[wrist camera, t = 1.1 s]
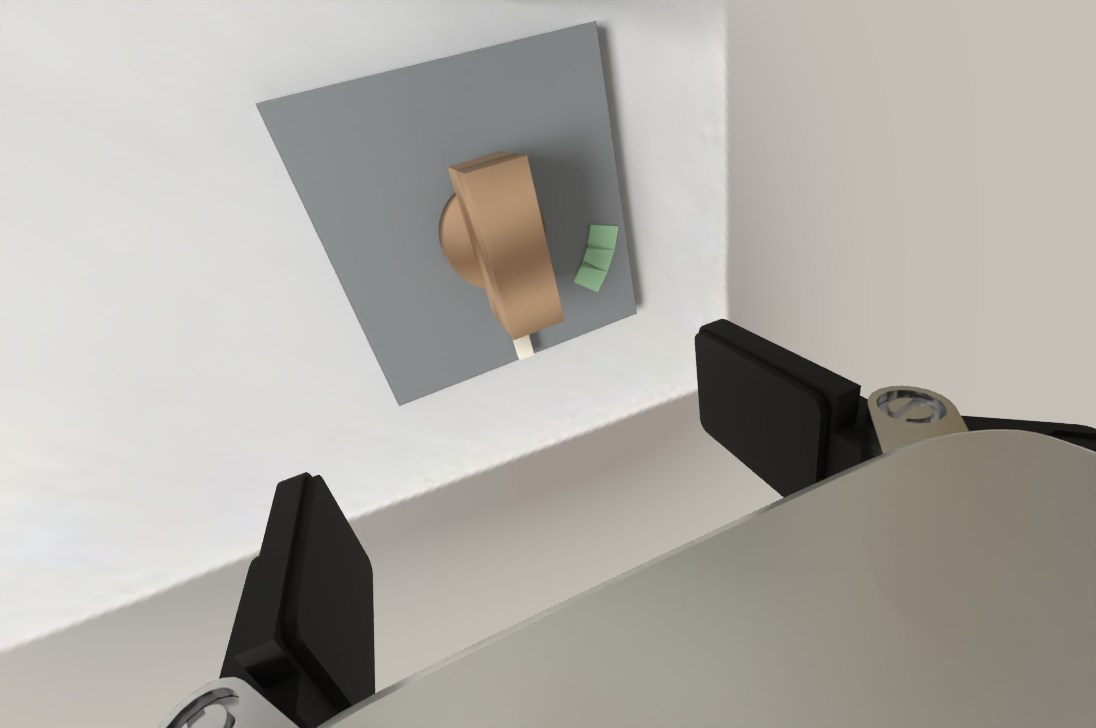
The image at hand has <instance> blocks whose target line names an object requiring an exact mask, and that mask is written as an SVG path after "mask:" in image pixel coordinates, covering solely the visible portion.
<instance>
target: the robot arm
mask: <svg viewBox="0 0 1096 728" xmlns="http://www.w3.org/2000/svg"><path fill="white" fill-rule="evenodd" d="M695 351H696V366H697V381H698V395H699V409H700V421H701V424H702V426H703V428H704V430H705V431H706V432H707V433H708V434H710V436H712V437H713V438H714V439H715V440H716V441H718V442H719V443H720V444H721V445H722V446H724V447H725V448H726V449H727V450H728V451H730V452H731V453H732V454H733V455H734V456H735V457H737V458H738V459H739V460H740V461H741V462H743V463H744V464H745V465H746V466H747V467H748V468H750V469H751V470H752V471H753V472H754V473H756V474H757V475H758V476H759V477H760V478H762V479H763V480H764V481H765V482H766V483H767V484H769V485H770V486H771V487H772V488H773V489H775V490H776V491H777V492H778V493H779V494H780V495H781V496H783V497H784V498H782V499H780V500H778V501H776V502H774V503H772V504H770V505H767V506H765V507H763V508H761V509H759V510H757V511H754V512H752V513H750V514H748V515H746V516H744V517H742V518H740V519H737V520H735V521H733V522H731V523H729V524H726V525H724V526H722V527H720V528H718V529H716V530H714V531H711V532H709V533H707V534H705V535H703V536H701V537H699V538H697V539H695V540H693V541H690V542H688V543H686V544H684V545H682V546H680V547H677V548H675V549H673V550H671V551H669V552H667V553H665V554H663V555H660V556H658V557H656V558H654V559H652V560H650V561H648V562H646V563H643V564H641V565H640V566H637V567H635V568H633V569H631V570H629V571H627V572H625V573H622V574H621V575H618V576H616V577H614V578H612V579H610V580H608V581H606V582H603V583H601V584H599V585H597V586H595V587H593V588H591V589H589V590H586V591H585V592H582V593H580V594H578V595H576V596H574V597H572V598H570V599H568V600H566V601H563V602H561V603H559V604H557V605H555V606H553V607H551V608H549V609H547V610H545V611H543V612H540V613H539V614H537V615H534V616H532V617H530V618H528V619H526V620H524V621H522V622H520V623H518V624H515V625H513V626H511V627H509V628H507V629H505V630H503V631H501V632H499V633H497V634H495V635H493V636H490V637H488V638H486V639H484V640H482V641H480V642H478V643H476V644H474V645H472V646H469V647H467V648H465V649H463V650H461V651H459V652H457V653H455V654H453V655H451V656H449V657H447V658H445V659H443V660H441V661H439V662H437V663H435V664H433V665H431V666H429V667H427V668H425V669H423V670H421V671H419V672H417V673H415V674H413V675H411V676H409V677H407V678H405V679H403V680H401V681H399V682H397V683H395V684H393V685H391V686H389V687H387V688H385V689H383V690H381V691H379V692H377V693H376V694H375V661H374V612H373V572H372V567H371V563H370V560H369V558H368V556H367V554H366V553H365V551H364V549H363V547H362V545H361V544H360V542H359V540H358V539H357V537H356V535H355V533H354V532H353V530H352V528H351V526H350V525H349V523H348V521H347V519H346V518H345V516H344V514H343V513H342V511H341V509H340V507H339V506H338V504H337V502H336V500H335V499H334V497H333V495H332V494H331V492H330V490H329V488H328V487H327V485H326V483H325V481H324V480H323V478H322V477H321V476H320V475H317V476H314V477H312V476H311V475H310V474H309V473H307V472H305V473H303V474H300V475H297V476H295V477H292V478H289V479H287V480H284V481H281V482H279V483H278V485H277V487H276V491H275V495H274V499H273V503H272V507H271V511H270V515H269V519H268V523H267V527H266V531H265V535H264V539H263V542H262V546H261V550H260V554H259V556H258V557H256V558H255V559H254V560H252V562H251V564H250V567H249V570H248V574H247V577H246V581H245V585H244V588H243V592H242V596H241V599H240V603H239V607H238V610H237V614H236V618H235V622H234V625H233V629H232V633H231V636H230V640H229V644H228V647H227V651H226V655H225V659H224V662H223V666H222V670H221V673H220V677H219V679H218V680H215V681H213V682H210V683H207V684H206V685H204V686H202V687H201V688H199V689H197V690H196V691H194V692H193V693H191V694H190V695H189V696H188V697H186V698H185V699H184V700H183V701H182V702H180V703H179V704H178V705H177V706H176V707H175V708H174V709H173V710H172V711H171V712H170V713H169V715H168V716H167V717H166V718H165V719H164V720H163V721H162V722H161V724H160V725H159V727H158V728H1096V429H1095V428H1092V427H1088V426H1083V425H1077V424H1064V423H1053V422H1040V421H1026V420H1012V419H999V418H986V417H985V418H984V417H972V416H961V415H960V414H959V412H958V410H957V408H956V407H955V405H954V404H953V403H952V402H951V401H950V400H948V399H947V398H945V397H944V396H942V395H940V394H938V393H935V392H933V391H930V390H927V389H922V388H917V387H909V386H890V387H886V388H881V389H879V390H877V391H875V392H873V393H872V394H871V395H870V396H869V398H868V399H866V398H864V397H862V396H860V389H861V386H860V385H858V384H856V383H854V382H852V381H850V380H848V379H846V378H844V377H842V376H840V375H838V374H836V373H834V372H832V371H830V370H828V369H826V368H824V367H822V366H820V365H818V364H816V363H813V362H811V361H809V360H807V359H805V358H803V357H801V356H799V355H797V354H795V353H793V352H791V351H789V350H787V349H785V348H783V347H781V346H779V345H777V344H775V343H772V342H771V341H768V340H766V339H764V338H762V337H760V336H758V335H756V334H754V333H752V332H750V331H748V330H746V329H744V328H742V327H740V326H738V325H736V324H734V323H732V322H730V321H728V320H725V319H720V320H717V321H714V322H711V323H709V324H706V325H703V326H702V327H701V328H700V330H699V333H698V334H696V336H695Z"/></svg>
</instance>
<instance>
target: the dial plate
mask: <svg viewBox="0 0 1096 728" xmlns="http://www.w3.org/2000/svg"><path fill="white" fill-rule="evenodd" d="M256 106H257V108H258V110H259V112H260V114H261V117H262V119H263V121H264V123H265V125H266V127H267V129H268V131H269V133H270V136H271V138H272V140H273V142H274V144H275V146H276V148H277V150H278V152H279V154H280V157H281V159H282V161H283V163H284V165H285V167H286V169H287V171H288V173H289V176H290V178H291V180H292V182H293V184H294V186H295V188H296V190H297V192H298V194H299V197H300V199H301V201H302V203H303V205H304V207H305V209H306V211H307V213H308V215H309V218H310V220H311V222H312V224H313V226H314V228H315V230H316V232H317V234H318V237H319V239H320V241H321V243H322V245H323V247H324V249H325V251H326V253H327V255H328V258H329V260H330V262H331V264H332V266H333V268H334V270H335V272H336V274H337V277H338V279H339V281H340V283H341V285H342V287H343V289H344V291H345V293H346V295H347V298H348V300H349V302H350V304H351V306H352V308H353V310H354V312H355V314H356V317H357V319H358V321H359V323H360V325H361V327H362V329H363V331H364V333H365V335H366V338H367V340H368V342H369V344H370V346H371V348H372V350H373V352H374V354H375V357H376V359H377V361H378V363H379V365H380V367H381V369H382V371H383V373H384V375H385V378H386V380H387V382H388V384H389V386H390V388H391V390H392V392H393V394H394V396H395V399H396V401H397V403H398V405H399V406H401V405H403V404H406V403H409V402H411V401H414V400H416V399H419V398H421V397H424V396H427V395H429V394H432V393H434V392H437V391H439V390H442V389H444V388H447V387H450V386H452V385H455V384H457V383H460V382H462V381H465V380H468V379H470V378H473V377H475V376H478V375H480V374H483V373H485V372H488V371H491V370H493V369H496V368H498V367H501V366H503V365H506V364H509V363H511V362H514V361H516V360H519V358H518V355H517V352H516V349H515V345H514V342H513V339H512V337H511V336H510V335H509V333H508V332H507V331H506V330H505V328H504V327H503V326H502V325H501V323H500V322H499V321H498V320H497V318H496V317H495V316H494V314H493V312H492V309H491V306H490V302H489V299H488V296H487V293H486V289H485V288H481V287H478V286H475V285H473V284H471V283H469V282H467V281H466V280H465V279H463V278H462V277H461V276H460V275H459V274H458V273H457V272H456V271H455V269H454V268H453V267H452V265H451V264H450V263H449V261H448V260H447V258H446V257H445V255H444V253H443V251H442V248H441V244H440V240H439V221H440V217H441V214H442V211H443V209H444V207H445V205H446V203H447V201H448V200H449V199H450V197H451V196H452V195H453V194H454V193H455V190H454V187H453V183H452V180H451V177H450V174H449V170H448V167H449V166H452V165H456V164H459V163H463V162H466V161H469V160H473V159H476V158H480V157H483V156H487V155H490V154H493V153H497V152H500V151H503V152H509V153H516V154H522V155H527V158H528V162H529V166H530V171H531V175H532V180H533V184H534V188H535V193H536V197H537V202H538V206H539V208H540V210H541V212H542V214H543V217H544V221H545V226H546V241H547V246H548V250H549V254H550V259H551V263H552V268H553V272H554V276H555V281H556V285H557V289H558V294H559V298H560V303H561V307H562V311H563V316H564V320H565V321H563V322H561V323H558V324H556V325H553V326H550V327H548V328H545V329H542V330H540V331H537V332H534V333H532V334H529V338H530V341H531V345H532V348H533V352H534V353H537V352H539V351H542V350H544V349H547V348H549V347H552V346H555V345H557V344H560V343H562V342H565V341H567V340H570V339H573V338H575V337H578V336H580V335H583V334H585V333H588V332H590V331H593V330H596V329H598V328H601V327H603V326H606V325H608V324H611V323H614V322H616V321H619V320H621V319H624V318H626V317H629V316H631V315H634V314H637V311H636V304H635V297H634V290H633V283H632V276H631V268H630V261H629V254H628V247H627V240H626V233H625V226H624V218H623V211H622V204H621V197H620V190H619V183H618V176H617V168H616V161H615V154H614V147H613V140H612V133H611V125H610V118H609V111H608V104H607V97H606V90H605V83H604V75H603V68H602V61H601V54H600V47H599V40H598V33H597V25H596V21H594V22H590V23H586V24H582V25H578V26H574V27H570V28H566V29H561V30H557V31H553V32H549V33H545V34H541V35H537V36H533V37H528V38H524V39H520V40H516V41H512V42H508V43H504V44H499V45H495V46H491V47H487V48H483V49H479V50H475V51H471V52H466V53H462V54H458V55H454V56H450V57H446V58H442V59H438V60H433V61H429V62H425V63H421V64H417V65H413V66H409V67H404V68H400V69H396V70H392V71H388V72H384V73H380V74H376V75H371V76H367V77H363V78H359V79H355V80H351V81H347V82H343V83H338V84H334V85H330V86H326V87H322V88H318V89H314V90H310V91H305V92H301V93H297V94H293V95H289V96H285V97H281V98H276V99H272V100H268V101H264V102H260V103H256Z"/></svg>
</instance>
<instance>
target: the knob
mask: <svg viewBox="0 0 1096 728" xmlns="http://www.w3.org/2000/svg"><path fill="white" fill-rule="evenodd" d="M448 170H449V174H450V177H451V180H452V183H453V187H454V190H455V193H454V194H453V195H452V196H451V197H450V199H449V200H448V201H447V203H446V205H445V207H444V209H443V211H442V214H441V217H440V221H439V240H440V244H441V248H442V251H443V253H444V255H445V257H446V258H447V260H448V261H449V263H450V264H451V265H452V267H453V268H454V269H455V271H456V272H457V273H458V274H459V275H460V276H461V277H462V278H463V279H465V280H466V281H467V282H469V283H471V284H473V285H475V286H478V287H481V288H485V289H486V293H487V296H488V299H489V302H490V306H491V309H492V312H493V314H494V316H495V317H496V318H497V320H498V321H499V322H500V323H501V325H502V326H503V327H504V328H505V330H506V331H507V332H508V333H509V335H510V336H511V337H512V339H513V342H514V345H515V349H516V352H517V355H518V358H519V359H520V360H522V359H525V358H527V357H530V356H533V355H534V352H533V348H532V345H531V341H530V338H529V334H532V333H534V332H537V331H540V330H542V329H545V328H548V327H550V326H553V325H556V324H558V323H561V322H563V321H565V320H564V316H563V311H562V307H561V303H560V298H559V294H558V289H557V285H556V281H555V276H554V272H553V268H552V263H551V259H550V254H549V250H548V246H547V241H546V226H545V221H544V217H543V214H542V212H541V210H540V208H539V206H538V202H537V197H536V193H535V188H534V184H533V180H532V175H531V171H530V166H529V162H528V158H527V155H522V154H516V153H509V152H503V151H500V152H497V153H493V154H490V155H487V156H483V157H480V158H476V159H473V160H469V161H466V162H463V163H459V164H456V165H452V166H449V167H448Z"/></svg>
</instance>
